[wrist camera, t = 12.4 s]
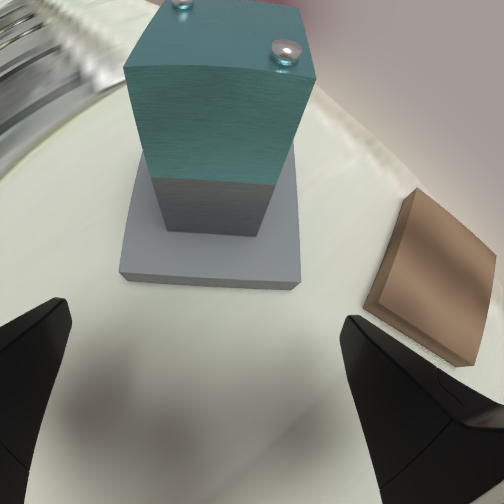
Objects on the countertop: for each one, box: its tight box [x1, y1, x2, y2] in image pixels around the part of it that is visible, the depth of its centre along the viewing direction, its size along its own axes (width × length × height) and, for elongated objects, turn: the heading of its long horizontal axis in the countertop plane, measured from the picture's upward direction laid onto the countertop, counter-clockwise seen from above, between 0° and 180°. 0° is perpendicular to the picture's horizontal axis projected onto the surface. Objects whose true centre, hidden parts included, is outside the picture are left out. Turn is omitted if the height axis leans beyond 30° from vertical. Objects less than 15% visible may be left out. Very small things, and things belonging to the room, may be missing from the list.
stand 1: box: [119, 142, 301, 290], centre depth 18 cm, size 10×10×2 cm
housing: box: [123, 0, 316, 237], centre depth 12 cm, size 5×5×11 cm
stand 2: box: [363, 188, 496, 367], centre depth 19 cm, size 10×10×2 cm
